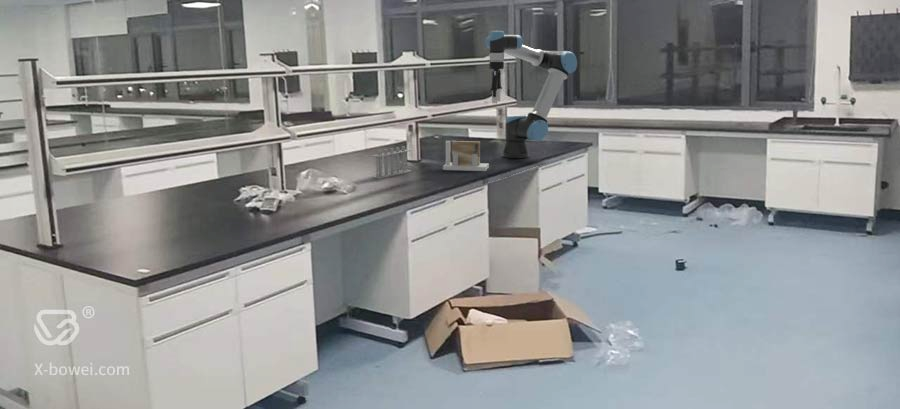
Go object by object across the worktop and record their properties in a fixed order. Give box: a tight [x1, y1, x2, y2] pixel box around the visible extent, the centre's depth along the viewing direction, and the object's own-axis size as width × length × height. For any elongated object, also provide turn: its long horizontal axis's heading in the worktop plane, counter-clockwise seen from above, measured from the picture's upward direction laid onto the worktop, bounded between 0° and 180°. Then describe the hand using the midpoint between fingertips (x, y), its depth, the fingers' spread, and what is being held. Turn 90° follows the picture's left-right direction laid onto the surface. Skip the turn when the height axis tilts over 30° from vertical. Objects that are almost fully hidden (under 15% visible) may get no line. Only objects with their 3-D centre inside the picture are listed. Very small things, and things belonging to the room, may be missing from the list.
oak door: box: [451, 140, 481, 165], centre depth 389 cm, size 4×14×12 cm, turn 80°
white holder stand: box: [442, 140, 490, 172], centre depth 389 cm, size 12×22×14 cm, turn 79°
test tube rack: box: [371, 145, 412, 180], centre depth 372 cm, size 25×4×13 cm, turn 144°
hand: (496, 102), depth 399 cm, fingers open, 13 cm apart
